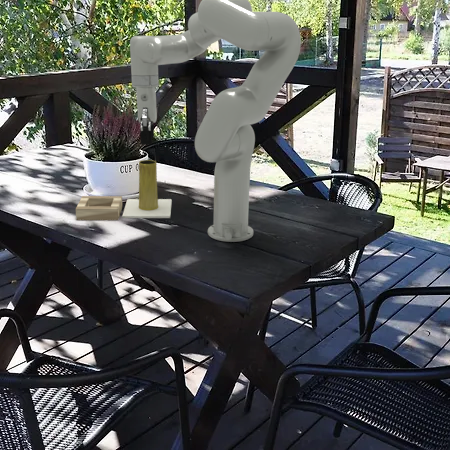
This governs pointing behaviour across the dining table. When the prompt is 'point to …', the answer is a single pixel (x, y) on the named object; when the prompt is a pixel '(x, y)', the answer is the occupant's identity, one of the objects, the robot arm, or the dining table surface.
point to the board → (136, 212)
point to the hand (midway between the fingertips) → (147, 140)
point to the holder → (99, 208)
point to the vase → (148, 185)
